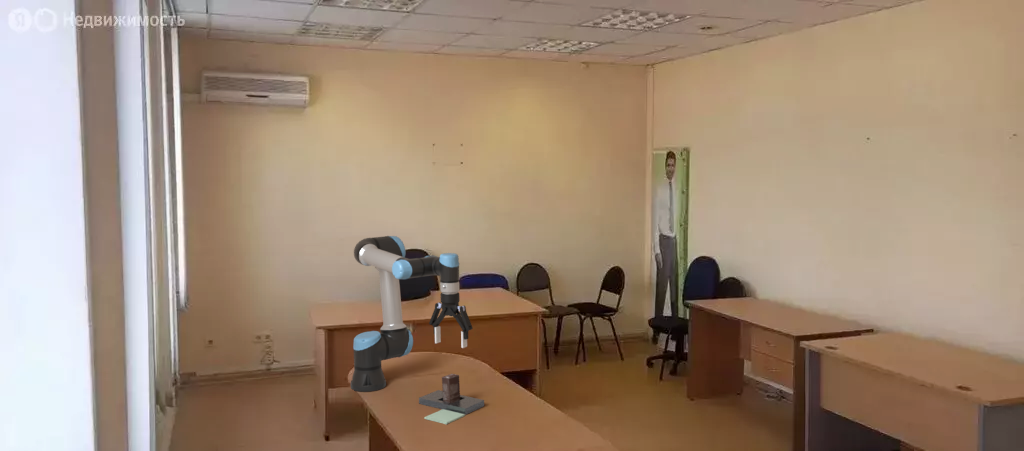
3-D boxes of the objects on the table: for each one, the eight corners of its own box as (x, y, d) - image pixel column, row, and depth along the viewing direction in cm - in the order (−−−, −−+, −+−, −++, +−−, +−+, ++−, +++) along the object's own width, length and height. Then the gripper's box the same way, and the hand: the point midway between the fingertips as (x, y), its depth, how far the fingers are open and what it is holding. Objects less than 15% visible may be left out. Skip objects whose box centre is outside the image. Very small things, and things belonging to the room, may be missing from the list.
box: (452, 402, 304) (452, 373, 303) (460, 404, 301) (460, 375, 300) (442, 405, 300) (441, 376, 299) (450, 408, 297) (449, 378, 296)
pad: (424, 418, 285) (424, 417, 285) (443, 410, 294) (442, 409, 294) (446, 424, 279) (446, 422, 279) (464, 415, 288) (464, 414, 288)
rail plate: (419, 403, 302) (418, 397, 302) (438, 395, 312) (438, 389, 312) (465, 414, 289) (465, 408, 288) (484, 406, 299) (484, 400, 298)
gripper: (419, 290, 300) (421, 342, 302) (469, 296, 286) (469, 351, 288) (432, 288, 307) (433, 338, 309) (480, 293, 293) (481, 347, 294)
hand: (450, 345), depth 298 cm, fingers open, 13 cm apart
